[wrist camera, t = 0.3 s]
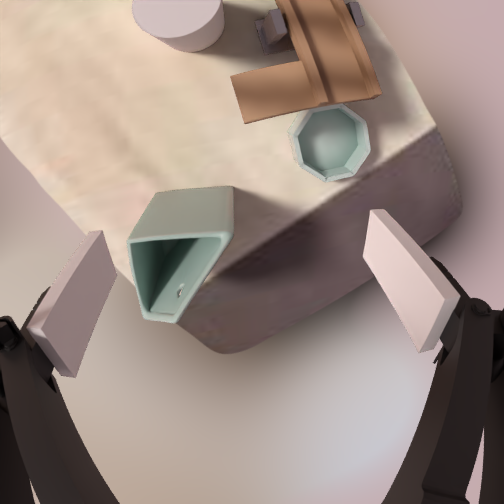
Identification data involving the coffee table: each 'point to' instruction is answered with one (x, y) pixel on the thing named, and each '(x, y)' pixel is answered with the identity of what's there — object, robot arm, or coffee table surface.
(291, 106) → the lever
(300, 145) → the bowl
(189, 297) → the planter
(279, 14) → the fulcrum
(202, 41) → the pale pink cylinder
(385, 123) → the coffee table surface
